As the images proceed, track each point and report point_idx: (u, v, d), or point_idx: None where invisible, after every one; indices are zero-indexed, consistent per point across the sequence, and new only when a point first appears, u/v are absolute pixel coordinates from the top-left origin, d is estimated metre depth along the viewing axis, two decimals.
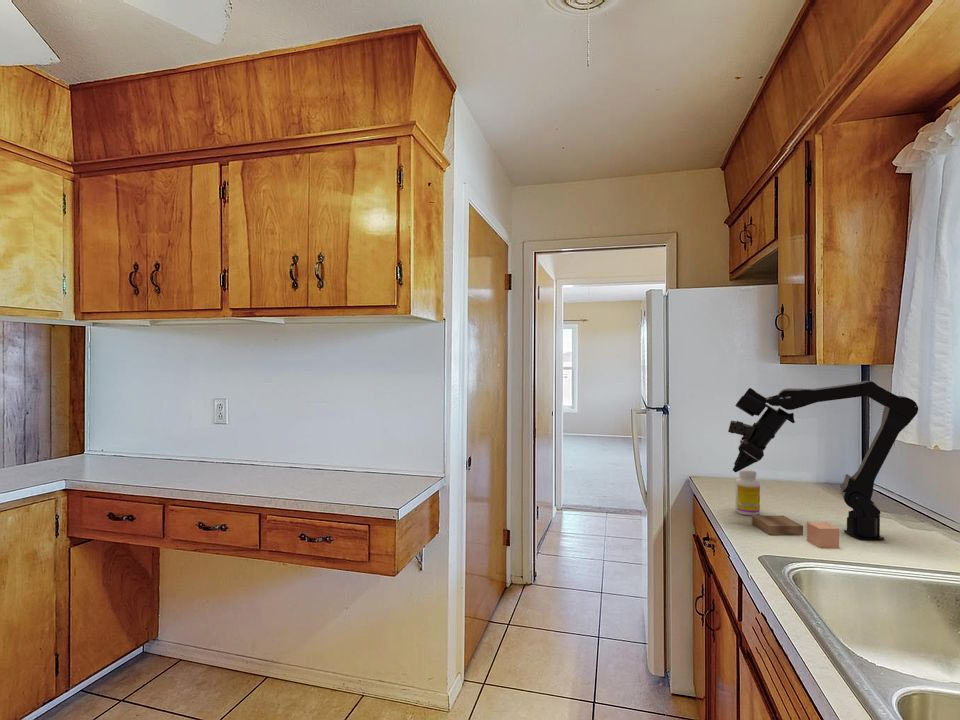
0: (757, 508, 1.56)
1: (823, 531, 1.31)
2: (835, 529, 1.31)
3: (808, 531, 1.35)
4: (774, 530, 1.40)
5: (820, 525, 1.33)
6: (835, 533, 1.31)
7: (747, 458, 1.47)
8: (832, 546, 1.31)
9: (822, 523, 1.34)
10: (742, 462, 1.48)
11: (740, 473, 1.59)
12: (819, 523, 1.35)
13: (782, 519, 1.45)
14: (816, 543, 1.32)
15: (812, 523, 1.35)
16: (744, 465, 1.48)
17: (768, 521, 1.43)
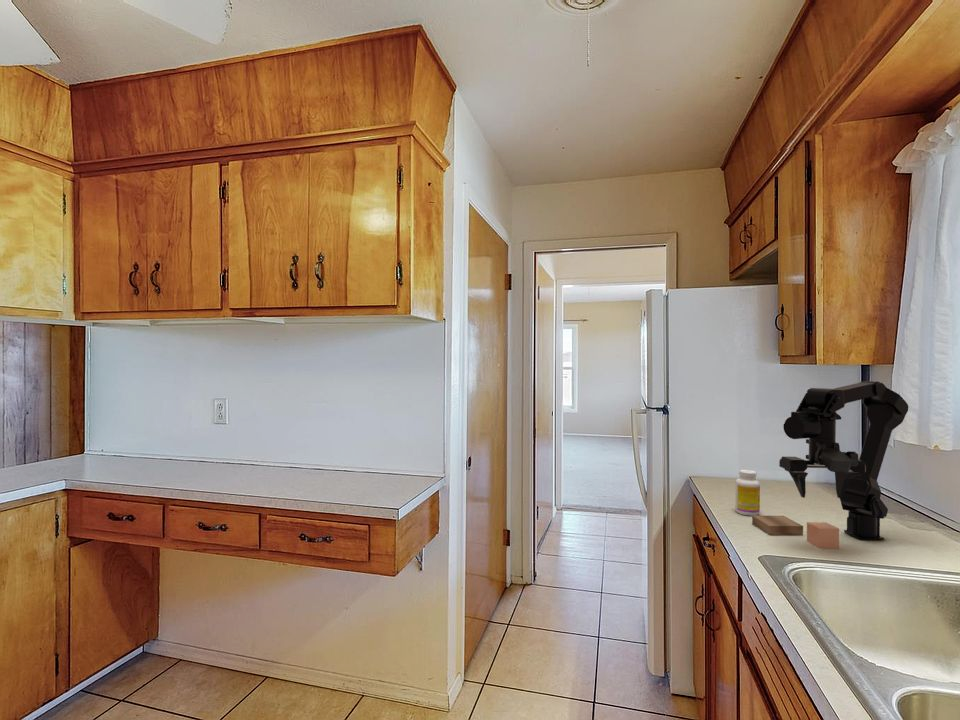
0: (757, 508, 1.56)
1: (823, 531, 1.31)
2: (835, 529, 1.31)
3: (808, 531, 1.35)
4: (774, 530, 1.40)
5: (820, 525, 1.33)
6: (835, 533, 1.31)
7: None
8: (832, 546, 1.31)
9: (822, 523, 1.34)
10: None
11: (740, 473, 1.59)
12: (819, 523, 1.35)
13: (782, 519, 1.45)
14: (816, 543, 1.32)
15: (812, 523, 1.35)
16: None
17: (768, 521, 1.43)
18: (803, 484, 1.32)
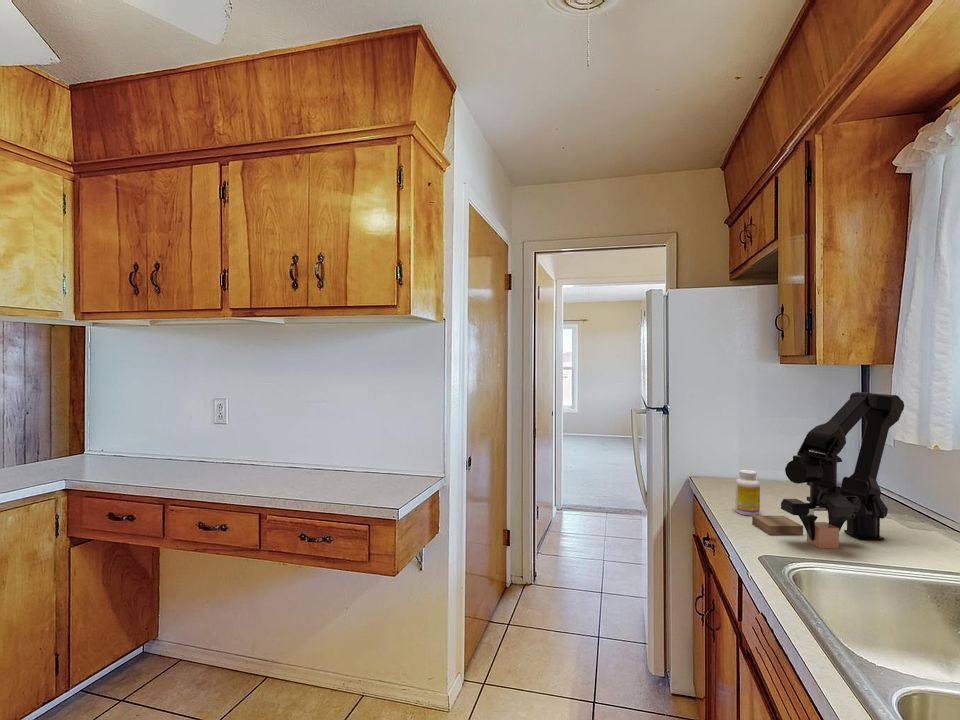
0: (757, 508, 1.56)
1: (823, 531, 1.31)
2: (835, 529, 1.31)
3: None
4: (774, 530, 1.40)
5: (820, 525, 1.33)
6: (835, 533, 1.31)
7: None
8: (832, 545, 1.31)
9: (822, 523, 1.34)
10: None
11: (740, 473, 1.59)
12: (819, 523, 1.35)
13: (782, 519, 1.45)
14: (816, 543, 1.32)
15: None
16: None
17: (768, 521, 1.43)
18: (812, 527, 1.32)
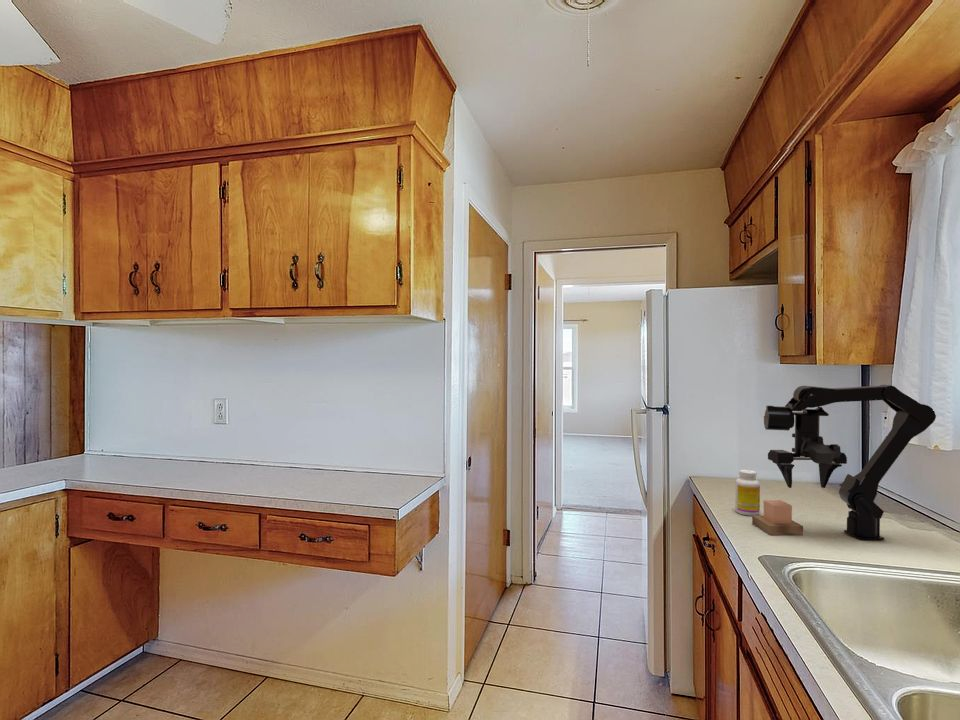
0: (757, 508, 1.56)
1: (777, 508, 1.42)
2: (788, 506, 1.42)
3: (764, 508, 1.46)
4: (774, 530, 1.40)
5: (775, 502, 1.44)
6: (788, 509, 1.42)
7: None
8: (785, 521, 1.42)
9: (777, 501, 1.45)
10: None
11: (740, 473, 1.59)
12: (774, 501, 1.46)
13: None
14: (771, 519, 1.43)
15: (768, 501, 1.46)
16: None
17: (768, 521, 1.43)
18: (790, 475, 1.42)
